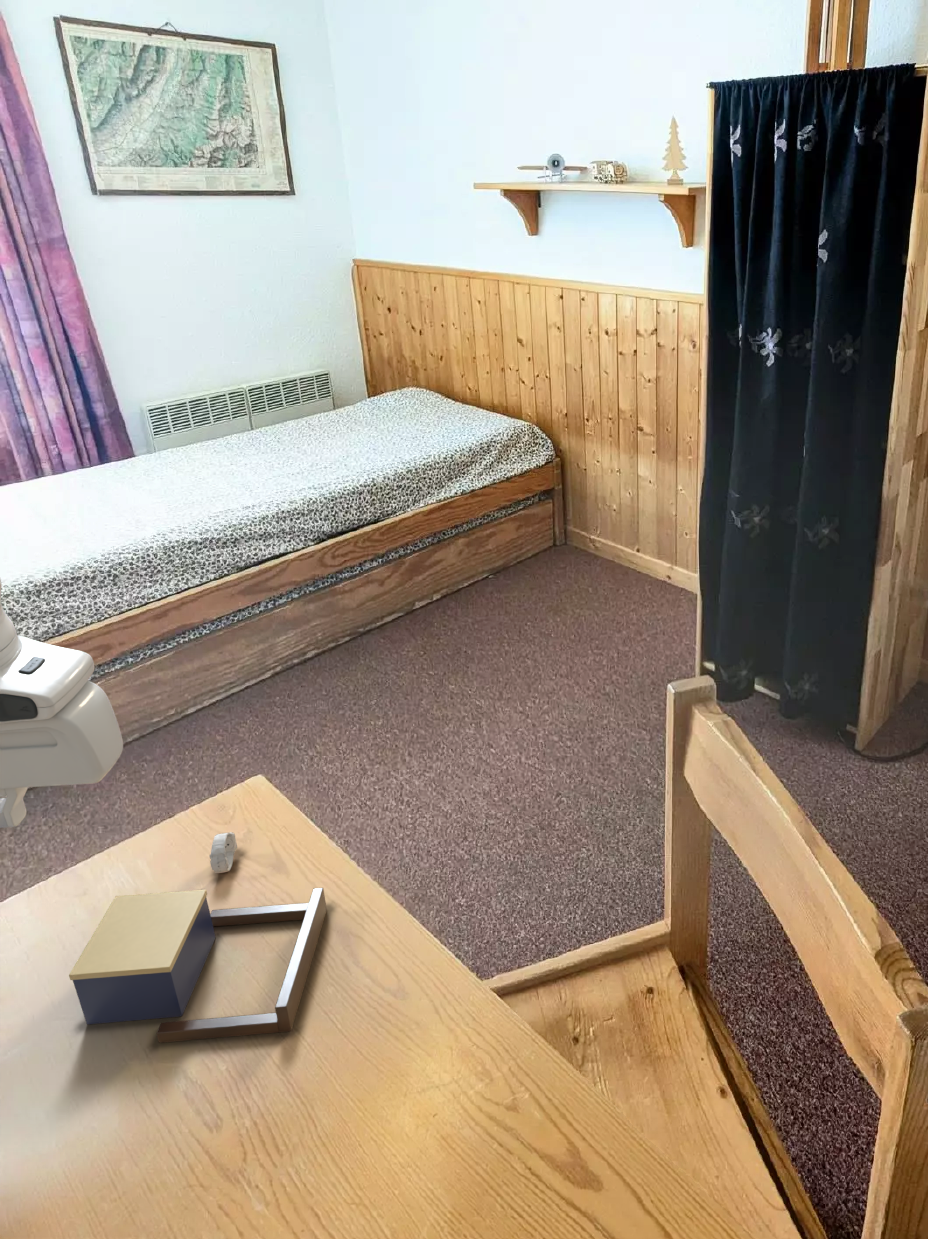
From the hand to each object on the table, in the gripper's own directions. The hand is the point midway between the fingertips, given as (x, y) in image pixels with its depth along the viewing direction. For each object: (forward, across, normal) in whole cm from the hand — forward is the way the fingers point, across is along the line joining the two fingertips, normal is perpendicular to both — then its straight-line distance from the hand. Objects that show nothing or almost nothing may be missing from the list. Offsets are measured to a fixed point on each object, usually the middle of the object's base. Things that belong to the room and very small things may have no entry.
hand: (3, 822), depth 69 cm
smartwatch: (+19, +10, +13) cm, 25 cm away
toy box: (+19, +8, 0) cm, 21 cm away
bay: (+19, +16, 0) cm, 25 cm away
